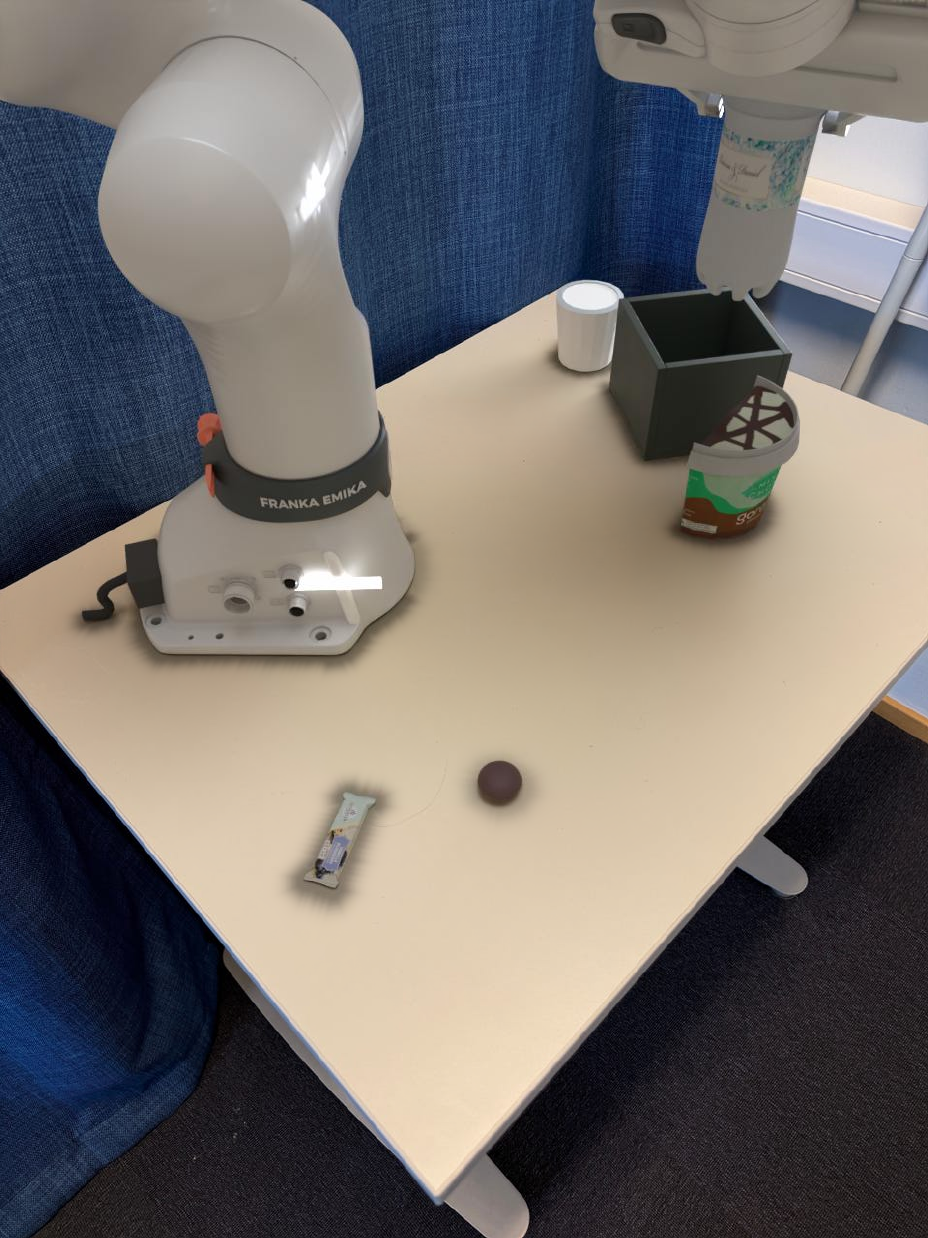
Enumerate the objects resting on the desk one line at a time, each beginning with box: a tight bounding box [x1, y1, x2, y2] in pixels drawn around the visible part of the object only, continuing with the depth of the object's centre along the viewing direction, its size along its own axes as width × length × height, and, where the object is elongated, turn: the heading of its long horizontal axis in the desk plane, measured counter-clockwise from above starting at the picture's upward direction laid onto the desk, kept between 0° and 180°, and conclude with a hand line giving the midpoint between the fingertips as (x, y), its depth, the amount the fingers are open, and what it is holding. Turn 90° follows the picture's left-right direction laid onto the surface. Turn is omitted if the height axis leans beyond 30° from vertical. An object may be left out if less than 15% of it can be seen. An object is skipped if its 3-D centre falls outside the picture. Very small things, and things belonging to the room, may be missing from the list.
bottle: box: [695, 95, 827, 301], centre depth 59 cm, size 7×7×20 cm
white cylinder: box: [555, 279, 625, 373], centre depth 94 cm, size 7×7×7 cm
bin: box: [608, 286, 793, 461], centre depth 85 cm, size 12×12×10 cm
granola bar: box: [303, 792, 377, 888], centre depth 59 cm, size 7×2×1 cm, turn 162°
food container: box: [679, 375, 801, 540], centre depth 75 cm, size 12×6×10 cm, turn 143°
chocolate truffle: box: [477, 760, 523, 802], centre depth 61 cm, size 3×3×2 cm
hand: (773, 114), depth 58 cm, fingers closed on bottle, 6 cm apart
